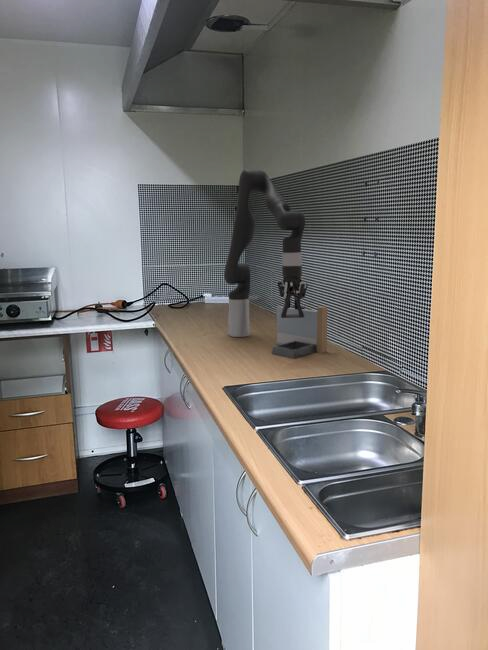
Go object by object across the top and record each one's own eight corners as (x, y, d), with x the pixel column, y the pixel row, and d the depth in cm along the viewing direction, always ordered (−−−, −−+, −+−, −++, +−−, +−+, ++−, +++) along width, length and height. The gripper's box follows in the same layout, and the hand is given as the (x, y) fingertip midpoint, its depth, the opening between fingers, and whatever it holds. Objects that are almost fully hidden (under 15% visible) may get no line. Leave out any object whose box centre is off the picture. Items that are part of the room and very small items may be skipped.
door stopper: (303, 315, 209) (303, 284, 207) (304, 317, 204) (304, 286, 201) (280, 315, 210) (280, 285, 208) (281, 317, 204) (280, 286, 202)
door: (275, 344, 226) (275, 302, 222) (280, 342, 228) (280, 301, 225) (321, 353, 209) (322, 307, 205) (326, 351, 211) (327, 306, 208)
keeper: (272, 353, 209) (272, 346, 208) (294, 347, 218) (294, 340, 218) (293, 358, 201) (293, 350, 201) (316, 351, 211) (316, 344, 210)
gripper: (271, 264, 206) (272, 308, 209) (299, 265, 196) (300, 311, 199) (284, 263, 211) (285, 306, 214) (312, 264, 201) (312, 308, 204)
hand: (292, 308), depth 206 cm, fingers closed on door stopper, 4 cm apart
